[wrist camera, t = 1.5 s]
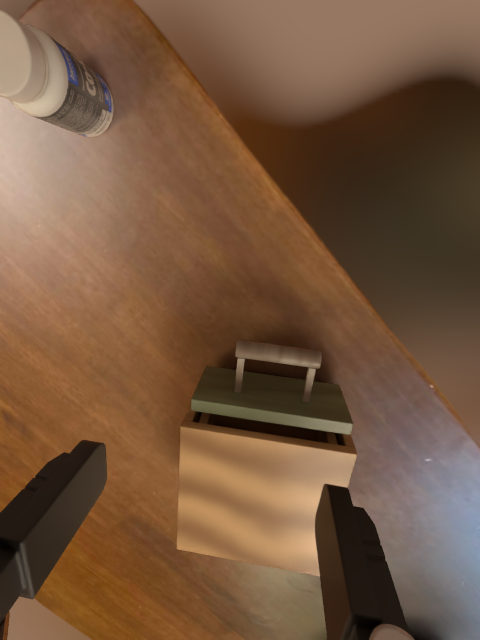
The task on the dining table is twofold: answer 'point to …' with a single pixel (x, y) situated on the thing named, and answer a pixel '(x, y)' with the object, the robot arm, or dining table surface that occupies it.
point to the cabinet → (255, 493)
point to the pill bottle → (51, 80)
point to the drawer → (273, 396)
